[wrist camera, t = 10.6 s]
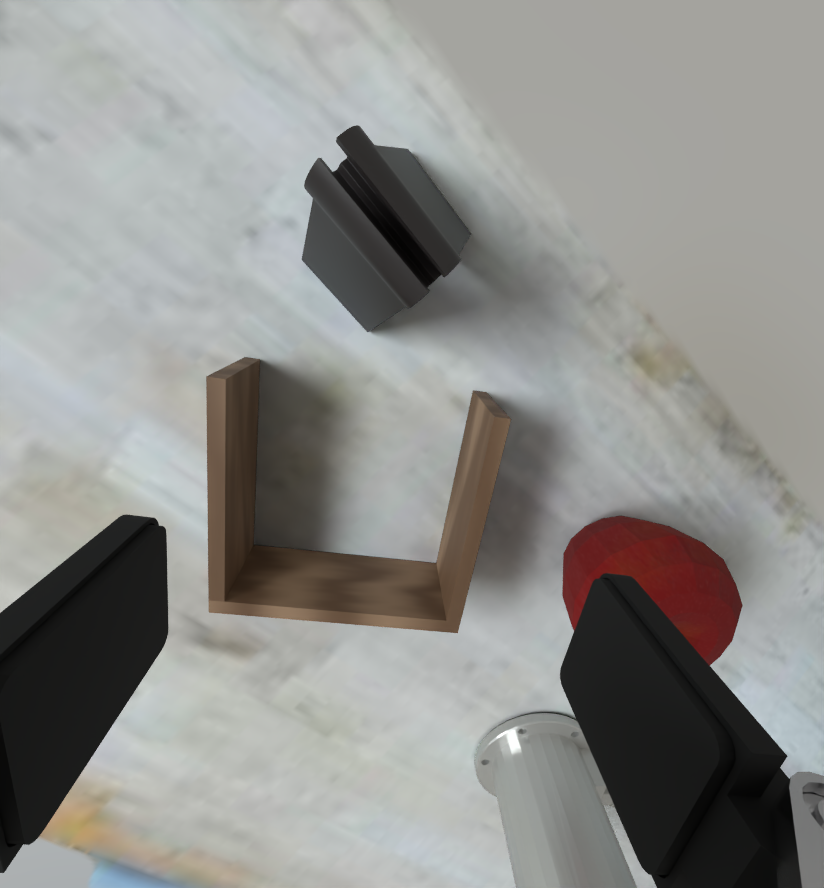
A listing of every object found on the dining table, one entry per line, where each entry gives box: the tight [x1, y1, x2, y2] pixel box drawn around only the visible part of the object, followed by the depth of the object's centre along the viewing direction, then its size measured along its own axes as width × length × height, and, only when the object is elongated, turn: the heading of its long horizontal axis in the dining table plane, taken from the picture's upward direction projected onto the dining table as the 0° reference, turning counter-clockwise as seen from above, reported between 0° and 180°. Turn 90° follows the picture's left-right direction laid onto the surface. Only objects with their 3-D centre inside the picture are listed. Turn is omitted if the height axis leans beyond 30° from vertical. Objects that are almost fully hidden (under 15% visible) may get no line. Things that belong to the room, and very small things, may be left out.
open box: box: [206, 357, 511, 633], centre depth 29 cm, size 17×16×6 cm
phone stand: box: [302, 126, 471, 332], centre depth 21 cm, size 9×6×12 cm, turn 131°
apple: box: [563, 516, 742, 666], centre depth 30 cm, size 11×11×12 cm
